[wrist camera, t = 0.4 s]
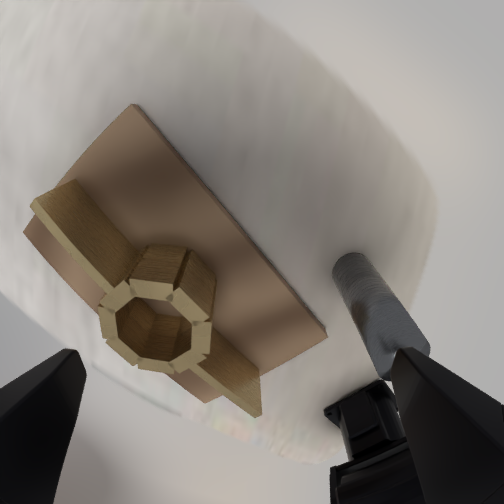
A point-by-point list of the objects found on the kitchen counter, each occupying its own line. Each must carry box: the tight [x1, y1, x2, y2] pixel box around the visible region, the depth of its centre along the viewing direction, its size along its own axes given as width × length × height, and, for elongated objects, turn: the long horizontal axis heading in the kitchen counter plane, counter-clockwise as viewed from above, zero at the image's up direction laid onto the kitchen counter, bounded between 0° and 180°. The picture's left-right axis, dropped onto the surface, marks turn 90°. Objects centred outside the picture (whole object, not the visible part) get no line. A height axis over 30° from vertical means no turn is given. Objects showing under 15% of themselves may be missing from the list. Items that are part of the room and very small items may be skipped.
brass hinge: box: [30, 179, 262, 418], centre depth 18 cm, size 19×6×4 cm, turn 38°
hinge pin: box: [332, 253, 430, 381], centre depth 17 cm, size 3×3×9 cm
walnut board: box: [23, 104, 328, 403], centre depth 20 cm, size 20×12×1 cm, turn 38°
